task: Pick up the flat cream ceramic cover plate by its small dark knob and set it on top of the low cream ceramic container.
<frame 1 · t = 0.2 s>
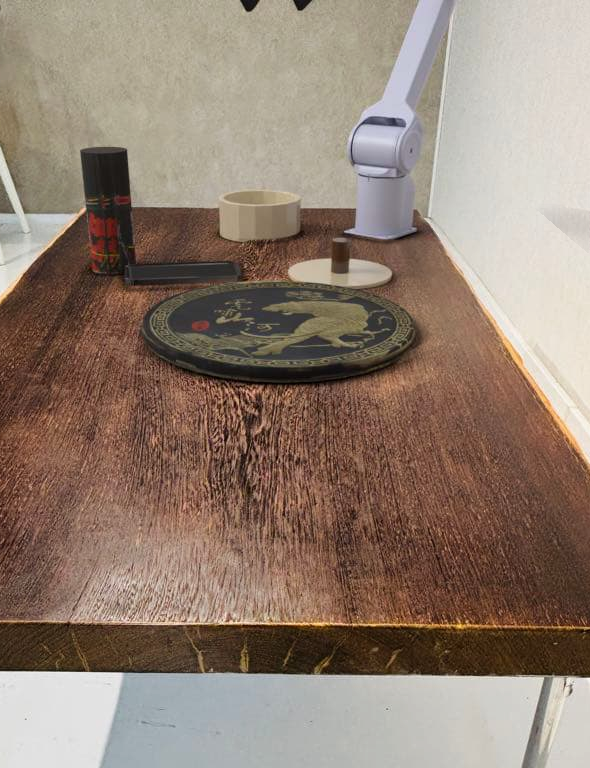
hand: (270, 4, 99), 31 cm above the table, tool tilted 45°, fingers open, 7 cm apart
container: (259, 233, 135), on the table
deodorant: (114, 270, 118), on the table
decorative plate: (278, 335, 95), on the table
cover: (339, 275, 113), point 1 cm above the table
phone: (183, 280, 113), on the table
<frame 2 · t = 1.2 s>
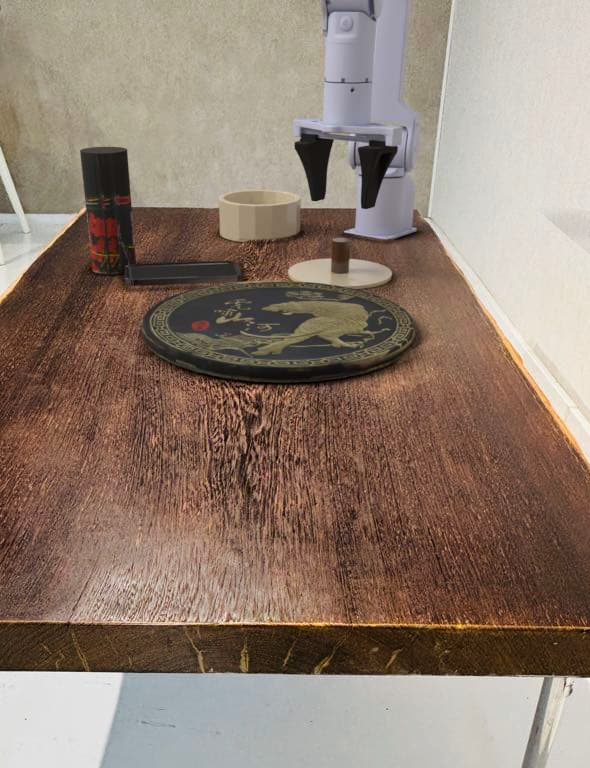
hand: (342, 203, 108), 9 cm above the table, tool pointing down, fingers open, 7 cm apart
nothing on the table moved.
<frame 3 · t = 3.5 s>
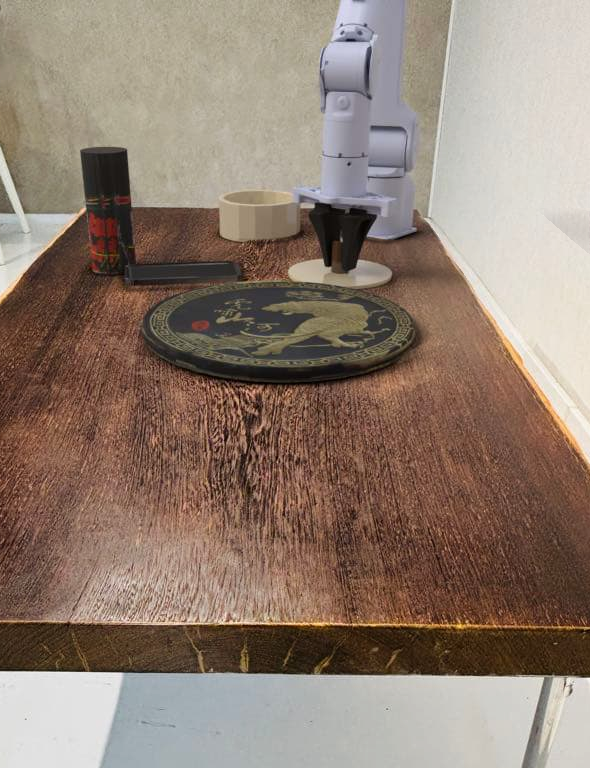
hand: (340, 267, 112), 2 cm above the table, tool pointing down, fingers closed on cover, 2 cm apart
cover: (339, 275, 113), point 1 cm above the table, touching gripper
everything else where it was.
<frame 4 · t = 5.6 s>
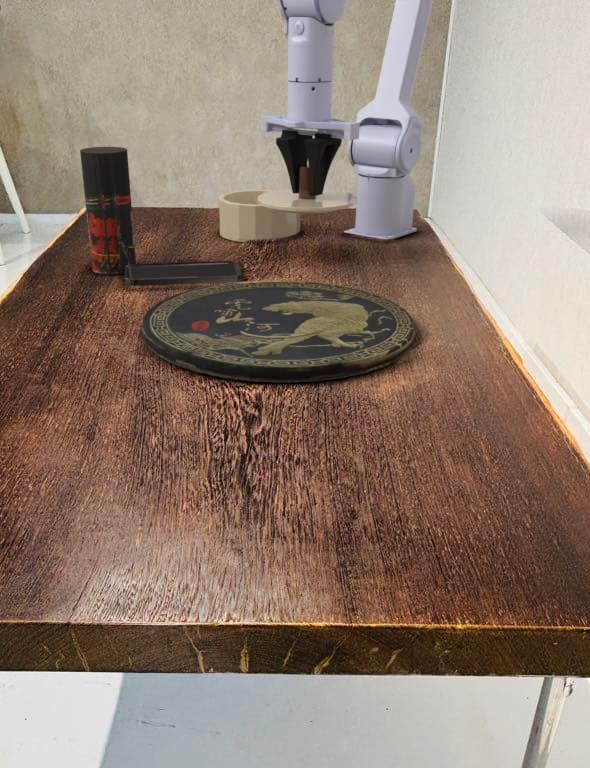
hand: (307, 193, 117), 9 cm above the table, tool pointing down, fingers closed on cover, 2 cm apart
cover: (307, 201, 117), point 8 cm above the table, touching gripper
everything else where it was.
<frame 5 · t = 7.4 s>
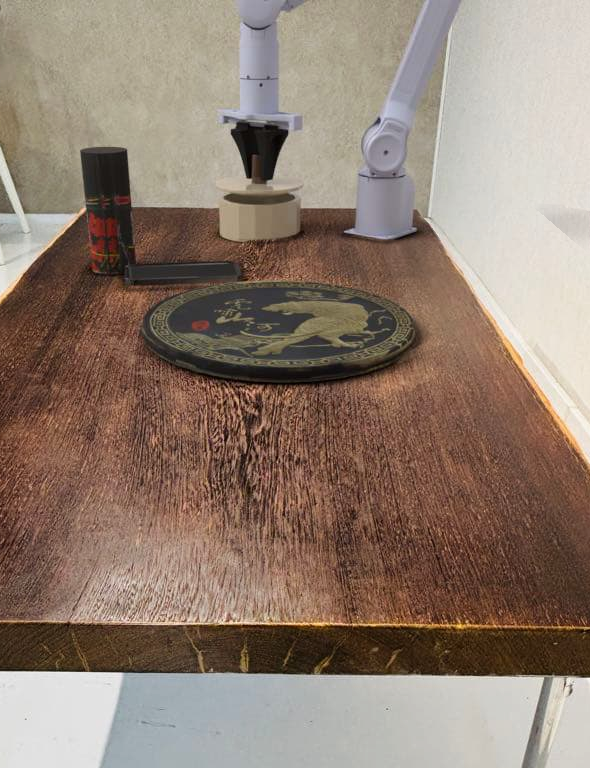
hand: (259, 179, 131), 8 cm above the table, tool pointing down, fingers closed on cover, 2 cm apart
cover: (259, 186, 132), point 7 cm above the table, touching gripper
everything else where it was.
when the fingers open (6 cm above the table, at t = 8.2 s): cover stays where it is, resting on container.
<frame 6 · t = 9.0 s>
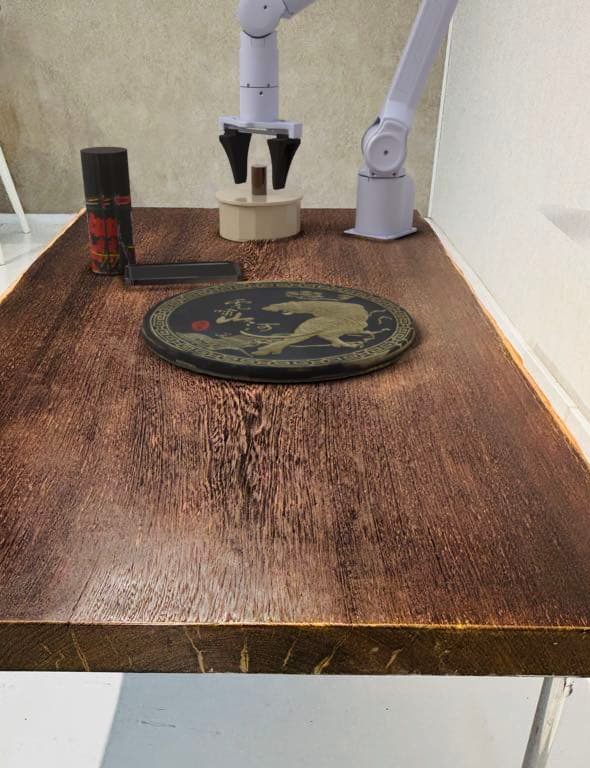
hand: (259, 186, 132), 7 cm above the table, tool pointing down, fingers open, 7 cm apart
cover: (259, 197, 132), point 5 cm above the table, touching container
everything else where it was.
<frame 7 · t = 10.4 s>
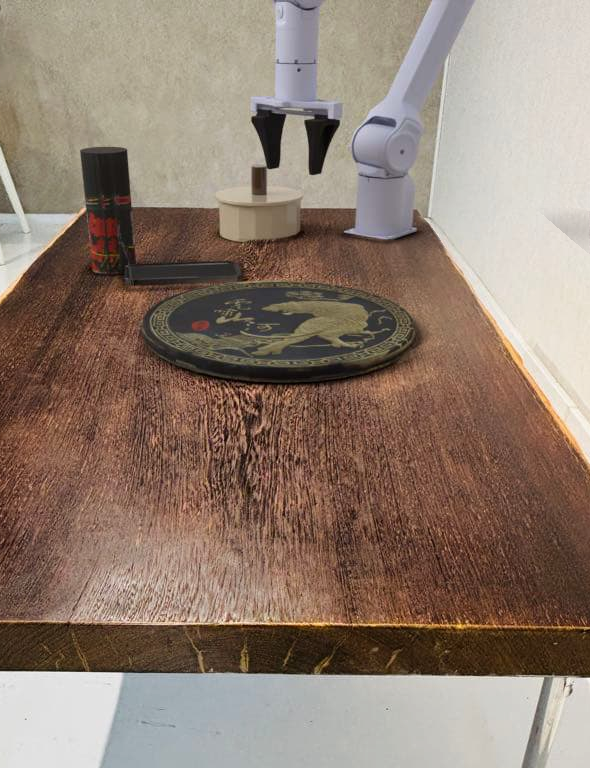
hand: (293, 171, 123), 10 cm above the table, tool pointing down, fingers open, 7 cm apart
nothing on the table moved.
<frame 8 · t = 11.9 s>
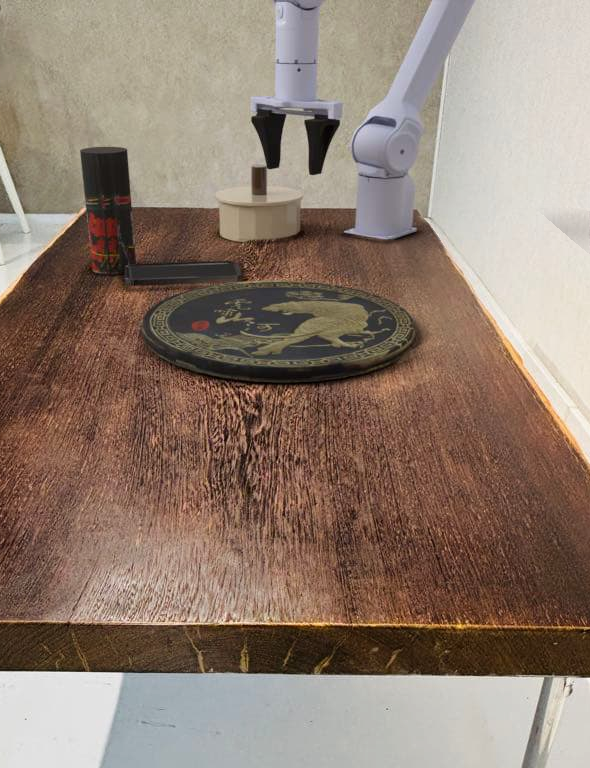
hand: (293, 171, 123), 10 cm above the table, tool pointing down, fingers open, 7 cm apart
nothing on the table moved.
at the end: cover 0.1 cm off-centre on the container, point 5.4 cm above the container's base; cover tilted 0°; the gripper is holding nothing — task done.
